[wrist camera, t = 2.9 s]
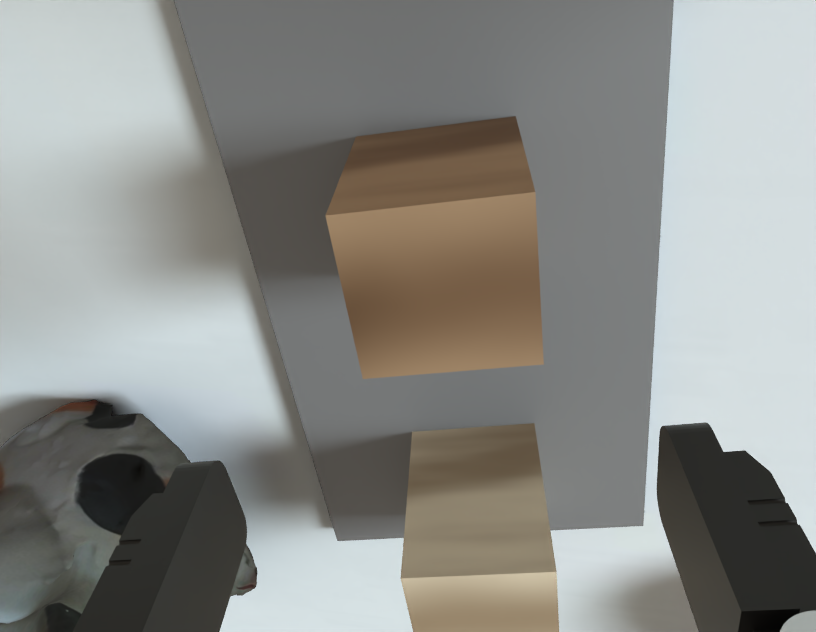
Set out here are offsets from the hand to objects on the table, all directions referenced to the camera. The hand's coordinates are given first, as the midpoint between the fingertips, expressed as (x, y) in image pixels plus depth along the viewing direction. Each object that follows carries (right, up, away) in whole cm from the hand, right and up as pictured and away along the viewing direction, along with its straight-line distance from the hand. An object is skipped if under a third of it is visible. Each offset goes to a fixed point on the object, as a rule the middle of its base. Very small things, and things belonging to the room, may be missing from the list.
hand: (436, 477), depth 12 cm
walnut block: (+1, +7, +10) cm, 12 cm away
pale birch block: (+3, -4, +16) cm, 17 cm away
